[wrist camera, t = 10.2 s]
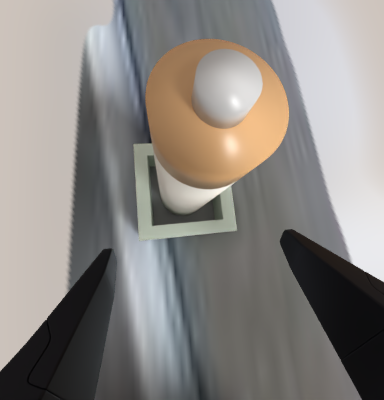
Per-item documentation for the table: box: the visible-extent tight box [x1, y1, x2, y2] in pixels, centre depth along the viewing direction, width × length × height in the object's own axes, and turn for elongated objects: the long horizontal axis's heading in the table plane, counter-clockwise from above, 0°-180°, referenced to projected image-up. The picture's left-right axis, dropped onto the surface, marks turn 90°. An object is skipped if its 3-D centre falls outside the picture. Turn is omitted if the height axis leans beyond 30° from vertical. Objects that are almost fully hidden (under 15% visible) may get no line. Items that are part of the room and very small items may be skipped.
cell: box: [146, 39, 289, 216], centre depth 11 cm, size 4×4×14 cm
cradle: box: [133, 143, 237, 241], centre depth 17 cm, size 8×8×3 cm
